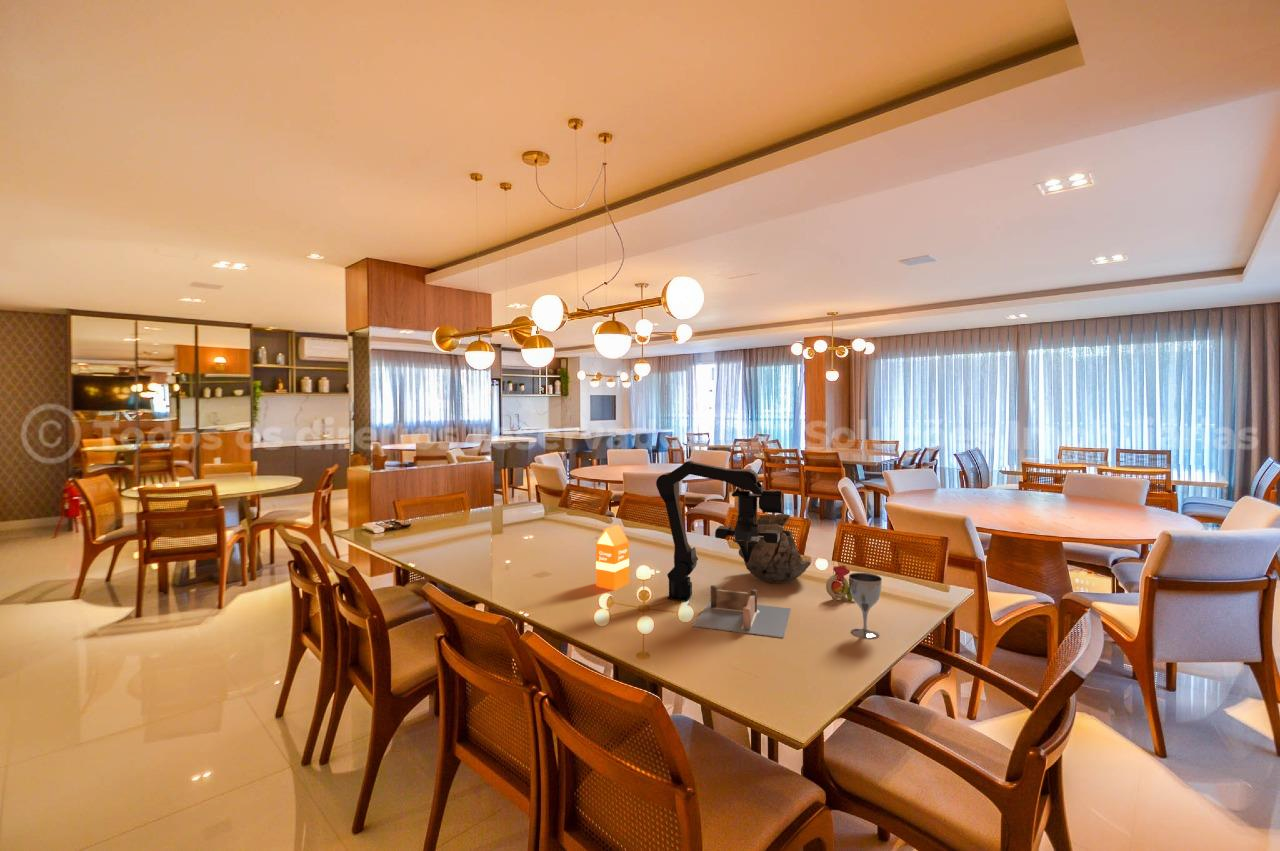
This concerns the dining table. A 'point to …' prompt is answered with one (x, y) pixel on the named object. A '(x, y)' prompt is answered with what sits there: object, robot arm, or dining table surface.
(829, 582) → the bird rattle
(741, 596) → the fixed fence
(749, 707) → the dining table surface
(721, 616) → the card
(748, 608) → the swing panel
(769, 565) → the clay pot
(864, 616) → the wine glass
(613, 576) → the orange juice
